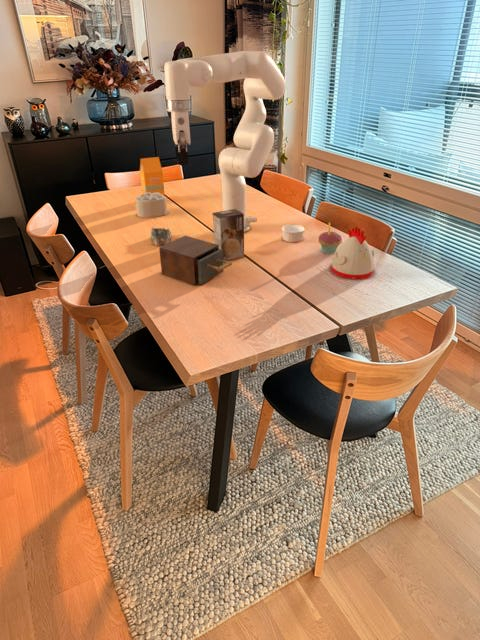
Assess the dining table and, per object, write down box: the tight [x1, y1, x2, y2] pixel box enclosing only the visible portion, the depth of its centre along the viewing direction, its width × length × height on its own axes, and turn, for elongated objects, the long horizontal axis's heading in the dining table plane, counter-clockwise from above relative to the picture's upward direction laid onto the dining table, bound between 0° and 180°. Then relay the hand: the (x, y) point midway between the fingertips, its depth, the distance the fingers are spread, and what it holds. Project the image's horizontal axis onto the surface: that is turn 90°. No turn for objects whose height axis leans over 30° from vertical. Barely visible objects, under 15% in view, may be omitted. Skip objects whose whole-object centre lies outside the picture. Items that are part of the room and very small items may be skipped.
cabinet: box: [158, 235, 219, 286], centre depth 151 cm, size 15×13×10 cm
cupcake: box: [318, 221, 343, 255], centre depth 165 cm, size 9×8×12 cm
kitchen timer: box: [330, 226, 375, 280], centre depth 151 cm, size 14×14×15 cm
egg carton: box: [150, 227, 172, 247], centre depth 177 cm, size 11×8×4 cm
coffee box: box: [212, 209, 245, 262], centre depth 161 cm, size 9×6×16 cm
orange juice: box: [139, 156, 166, 197], centre depth 216 cm, size 8×9×20 cm
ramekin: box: [281, 224, 305, 243], centre depth 178 cm, size 9×9×4 cm
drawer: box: [195, 249, 233, 285], centre depth 148 cm, size 19×11×8 cm, turn 54°
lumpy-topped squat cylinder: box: [135, 192, 169, 218], centre depth 203 cm, size 10×13×9 cm
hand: (181, 161), depth 154 cm, fingers open, 9 cm apart
